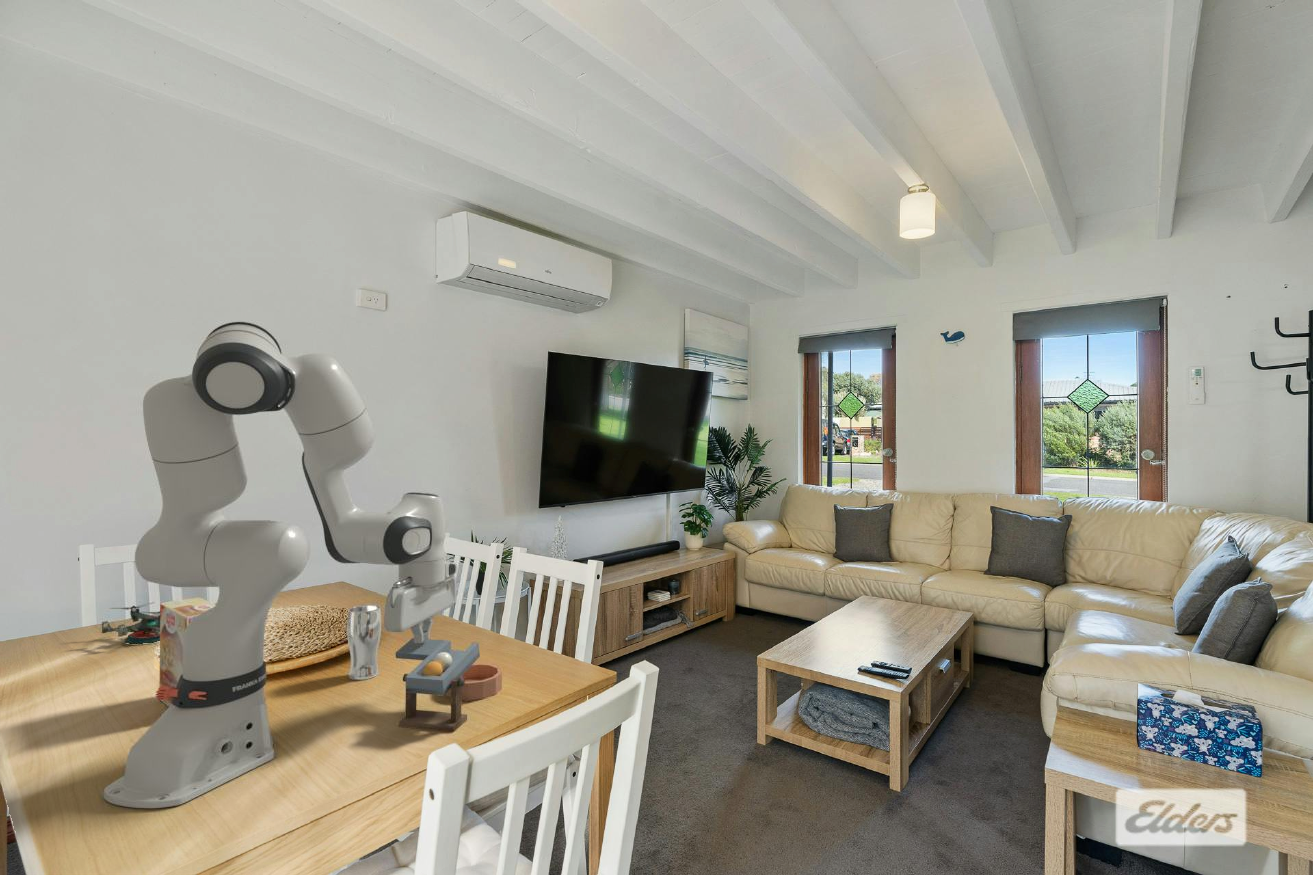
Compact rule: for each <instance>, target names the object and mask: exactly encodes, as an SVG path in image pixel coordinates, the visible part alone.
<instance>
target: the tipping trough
mask: <svg viewBox="0 0 1313 875" xmlns="http://www.w3.org/2000/svg"><path fill="white" fill-rule="evenodd" d="M441 652H446V653H448V654H450V655H451V657H452V664H451V666H450V667H449V668H448V669H447V670H446V671H443V672H442V675H441V676H431V675H423V669H424V667H425V666H426V664H428V663H429V662H433V659H434V657H435V656H436V655H437V654H439V653H441ZM480 655H481V654H480V643H479V642H476V641H475V642H472V643H471V644H470V645H469V646H468V647H466V649H465V650H461V649H460V650H457V649H452V642H451V640H446V639H445V640H443V639H431V638H429V639H427V640H425V641H424V642H422V643H415V642H414V637H412V638H411V639H409V641H408V642H406V643H405V644H404V645H402V647H400V648H399V649H397V651H396V652H395V658H396V659H401V660H402V659H403V660H412V661H413V660H415V661H421V662H420V663H419V664H418V665H417V666H415V668H414V669H413V670H411V671H410V672H409V673H407V674H408V675H407V676H406V677H405V678H406V682H405V689H406V688H407V692H408V693H417V694H420V695H430V696H431V695H432V696H446V695H447V692H448V691H449V690H450V689H451V681H452V680H453V679H455V678H456V677H462V675H463V674H464V673H465V672H466V671H467V670H468V669H469V668H470V667H471V666H472V664H475V662H476V661H477V660H478V659H479V658H480Z"/></svg>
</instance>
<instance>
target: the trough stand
mask: <svg viewBox="0 0 1313 875" xmlns="http://www.w3.org/2000/svg"><path fill="white" fill-rule="evenodd" d="M408 674H409V673H404V675H403V676H402V681H403V682H405V683H406V678H405V677H406V676H407V675H408ZM464 683H465V679H464V678H462V677H456V678H455V679H453V680H452V681H451V698H450V712H444V711H437V710H436V711H434V710H424V709H423V710H422V709H417V699H418V697H417V695H418V693H408V692H407V688H406V687H405V710H404V711H405V714H404V717H402V718H401V719H400V720H398V727H400V728H401V727H402V728H410V729H411V728H412V729H418V730H419V729H421V730H422V729H423V730H431V731H441V732H451V733H454V732H455V731H457V729H458V728H459V727H461V726H462V725H463V724H464V723H465V722H467V721H468V714H466V713H462V700H461V692H462V686H464Z"/></svg>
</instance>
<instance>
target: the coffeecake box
mask: <svg viewBox="0 0 1313 875" xmlns="http://www.w3.org/2000/svg"><path fill="white" fill-rule="evenodd" d="M159 605H160V607H159V609H160V610H159V611H160V643H159V682H158V683H159V687H158V688H160V687H161V686H169V687H172V686H173V687H175V688H176V686H177V683H178V681H179V678H180V676H181V675H182V674H183V634H184V631H185V629H186V627H187V626H188V625H189V623H190V622H191V621H192V620H193V619H194V618H195V617H197V616H198V615H200V614H202V613H203V612H205V611H207V610H209V609H211V608H213V607H215V605H216V604H215V603H213V602H210V601H208V600H206V599H203V598H202V597H199V596H198V597H193V598H186V599H179V600H178V599H177V600H170V601H166V602H161V603H160V604H159ZM171 700H172V699H171ZM171 700H166V699H160V700H159V701H160V702H161V703H163V704H164V705H166V706H167V707H168V708H169V707H170V705H171V704H172V703H171Z"/></svg>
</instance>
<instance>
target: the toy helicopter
mask: <svg viewBox="0 0 1313 875" xmlns="http://www.w3.org/2000/svg"><path fill="white" fill-rule="evenodd" d="M155 603H156V601H154V602H150V603H149V602H148V603H145V604H142V605H137V606H135V605H133V606H127V607H110V608H109V609H116V610H127V611H128V610H129V611H130V612H129V613H130V618H131V620H132V622H133V623H135V622H137V623H135V624H132V625H131V624H130V625H128V626H126V625H125V624H120V625H118V627H112V626H111V625H110V622H109V621H108V620H106V621H102V622H101V634H106V633H112V632H117V633H118V635H117V638H118V637H125V636H127V637H125V639H124V644H125V643H129V644H143V643H154V642H157V641H160V610H159V611H140V609H141V608H142V607H146V606H149V605H152V604H155ZM150 614H152V615H150ZM140 619H141V620H140ZM128 633H130V634H128ZM154 644H155V643H154Z"/></svg>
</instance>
